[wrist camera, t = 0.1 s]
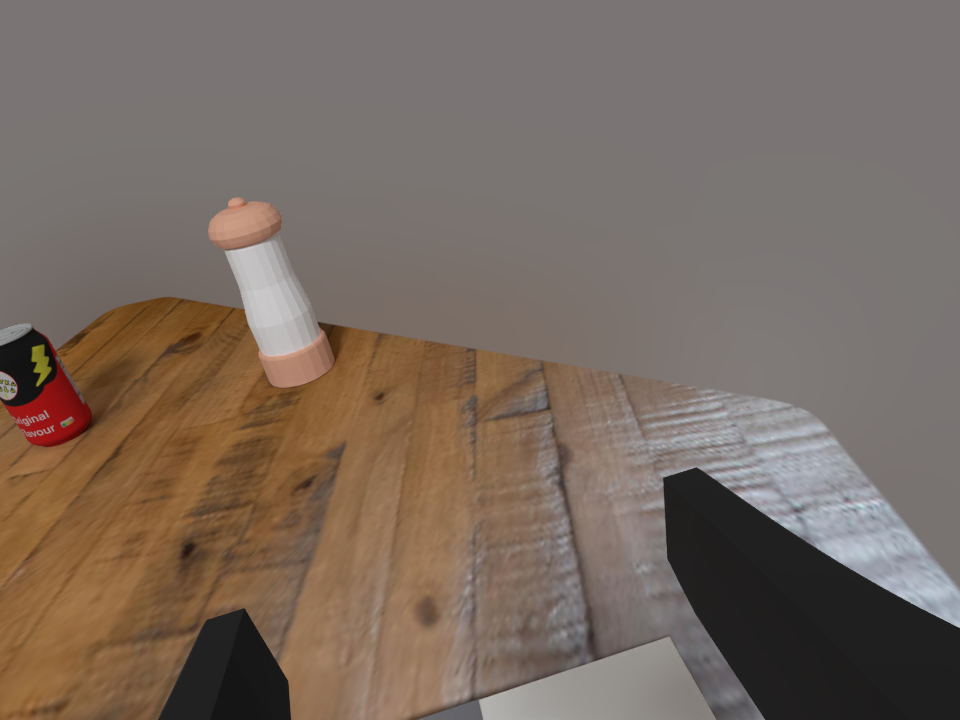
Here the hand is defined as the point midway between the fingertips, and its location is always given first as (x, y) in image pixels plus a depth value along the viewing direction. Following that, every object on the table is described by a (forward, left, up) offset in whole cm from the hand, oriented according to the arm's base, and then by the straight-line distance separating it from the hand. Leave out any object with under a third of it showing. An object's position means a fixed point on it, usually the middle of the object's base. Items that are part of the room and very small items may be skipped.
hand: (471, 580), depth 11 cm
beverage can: (+59, +39, -22) cm, 74 cm away
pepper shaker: (+58, +13, -22) cm, 63 cm away
